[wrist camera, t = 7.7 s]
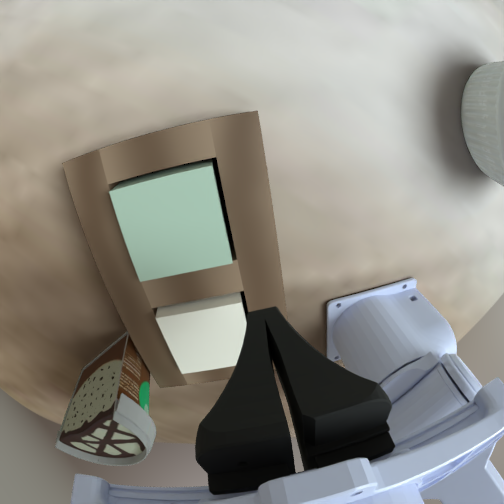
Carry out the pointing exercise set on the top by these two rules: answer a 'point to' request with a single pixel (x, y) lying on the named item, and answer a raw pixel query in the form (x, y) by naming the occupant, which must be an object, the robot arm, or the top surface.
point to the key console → (196, 282)
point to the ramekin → (485, 119)
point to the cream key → (204, 332)
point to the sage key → (173, 221)
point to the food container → (110, 409)
